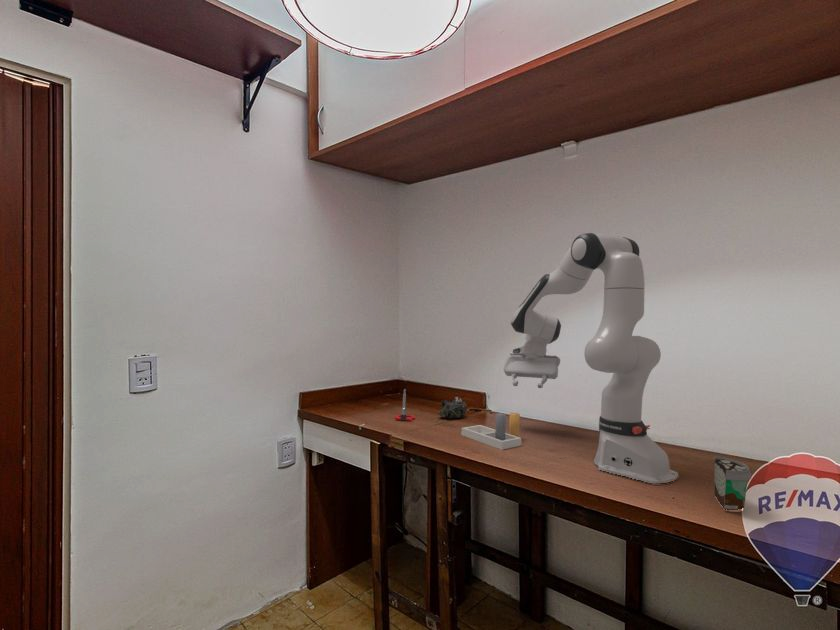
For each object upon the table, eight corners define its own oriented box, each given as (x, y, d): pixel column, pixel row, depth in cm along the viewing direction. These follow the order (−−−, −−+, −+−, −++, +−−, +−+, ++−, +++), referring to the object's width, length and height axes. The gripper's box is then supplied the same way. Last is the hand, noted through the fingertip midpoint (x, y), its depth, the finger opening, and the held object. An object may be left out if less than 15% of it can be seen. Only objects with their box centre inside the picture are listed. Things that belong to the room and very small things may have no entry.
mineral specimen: (433, 400, 200) (445, 384, 198) (456, 414, 203) (469, 397, 200) (434, 419, 186) (447, 401, 183) (459, 433, 189) (473, 416, 186)
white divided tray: (521, 448, 149) (521, 438, 149) (501, 452, 144) (502, 441, 144) (480, 434, 165) (480, 424, 165) (461, 437, 160) (461, 427, 160)
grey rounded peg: (509, 444, 150) (509, 415, 150) (500, 446, 148) (501, 416, 148) (500, 441, 153) (500, 412, 153) (491, 442, 151) (492, 413, 151)
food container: (758, 519, 100) (759, 474, 100) (725, 514, 102) (726, 470, 102) (741, 499, 112) (742, 458, 112) (712, 494, 114) (713, 455, 114)
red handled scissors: (396, 416, 192) (392, 420, 183) (397, 386, 192) (394, 388, 183) (416, 418, 191) (413, 422, 182) (417, 387, 192) (414, 390, 182)
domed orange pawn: (522, 442, 156) (523, 414, 156) (514, 444, 154) (514, 415, 154) (513, 439, 160) (514, 412, 160) (505, 441, 157) (506, 413, 157)
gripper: (562, 360, 171) (557, 392, 164) (510, 358, 181) (503, 388, 174) (559, 351, 167) (553, 384, 159) (506, 349, 177) (499, 380, 170)
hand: (527, 386), depth 167 cm, fingers open, 8 cm apart
